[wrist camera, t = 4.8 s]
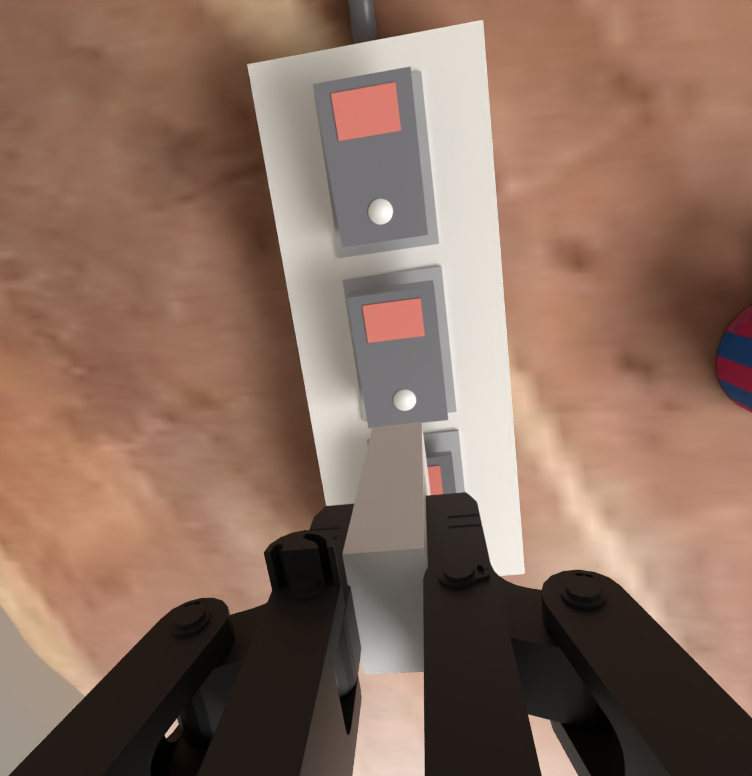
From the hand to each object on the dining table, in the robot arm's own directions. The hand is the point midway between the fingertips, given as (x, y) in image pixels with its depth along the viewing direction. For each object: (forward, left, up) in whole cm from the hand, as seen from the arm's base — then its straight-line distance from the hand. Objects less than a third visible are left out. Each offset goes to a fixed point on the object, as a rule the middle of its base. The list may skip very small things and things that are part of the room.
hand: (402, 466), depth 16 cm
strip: (-6, 0, -14) cm, 15 cm away
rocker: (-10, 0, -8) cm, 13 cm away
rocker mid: (-2, 0, -8) cm, 8 cm away
